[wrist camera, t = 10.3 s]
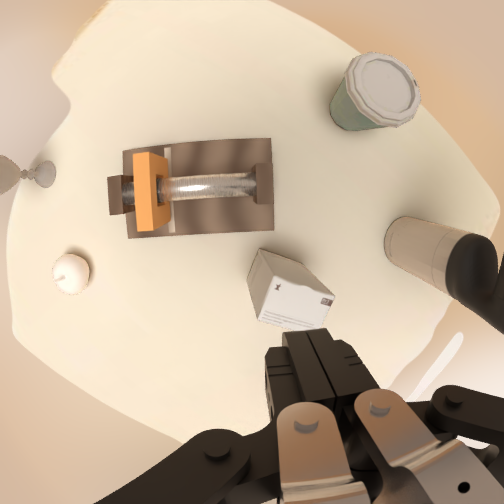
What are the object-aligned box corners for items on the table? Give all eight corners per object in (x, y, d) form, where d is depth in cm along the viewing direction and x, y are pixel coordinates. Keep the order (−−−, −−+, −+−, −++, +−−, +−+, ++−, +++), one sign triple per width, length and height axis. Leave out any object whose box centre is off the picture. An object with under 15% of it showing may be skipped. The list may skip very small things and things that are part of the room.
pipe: (269, 171, 36) (272, 170, 32) (270, 195, 36) (273, 196, 33) (117, 183, 35) (107, 183, 31) (118, 206, 35) (108, 208, 32)
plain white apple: (70, 243, 42) (45, 253, 34) (100, 260, 43) (78, 273, 35) (62, 276, 43) (39, 290, 36) (91, 293, 44) (70, 310, 37)
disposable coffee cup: (327, 146, 41) (369, 130, 27) (307, 86, 39) (338, 47, 24) (381, 136, 41) (434, 121, 27) (362, 79, 39) (406, 47, 24)
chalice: (65, 173, 39) (-4, 174, 22) (46, 201, 40) (-22, 212, 23) (47, 147, 38) (-20, 140, 20) (29, 175, 38) (-37, 178, 21)
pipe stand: (269, 139, 41) (279, 127, 31) (272, 228, 44) (282, 240, 35) (126, 151, 39) (100, 144, 30) (131, 236, 43) (107, 249, 33)
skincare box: (246, 279, 45) (251, 321, 31) (259, 245, 44) (271, 274, 30) (292, 295, 47) (315, 340, 32) (307, 263, 45) (337, 297, 31)
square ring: (167, 158, 37) (148, 151, 28) (170, 220, 39) (153, 230, 30) (154, 160, 37) (132, 154, 28) (157, 221, 39) (137, 231, 30)
